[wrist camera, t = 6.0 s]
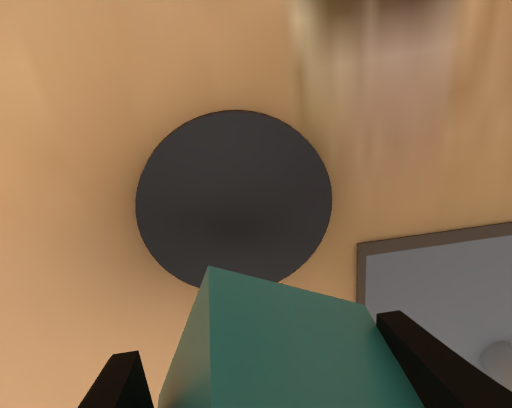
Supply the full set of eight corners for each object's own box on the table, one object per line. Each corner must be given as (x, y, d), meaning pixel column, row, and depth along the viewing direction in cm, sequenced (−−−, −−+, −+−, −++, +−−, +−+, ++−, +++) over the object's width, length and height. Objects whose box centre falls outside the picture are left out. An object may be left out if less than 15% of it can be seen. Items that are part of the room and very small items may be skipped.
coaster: (326, 99, 18) (330, 101, 17) (329, 272, 21) (333, 278, 21) (117, 122, 17) (114, 125, 16) (157, 297, 21) (156, 304, 20)
